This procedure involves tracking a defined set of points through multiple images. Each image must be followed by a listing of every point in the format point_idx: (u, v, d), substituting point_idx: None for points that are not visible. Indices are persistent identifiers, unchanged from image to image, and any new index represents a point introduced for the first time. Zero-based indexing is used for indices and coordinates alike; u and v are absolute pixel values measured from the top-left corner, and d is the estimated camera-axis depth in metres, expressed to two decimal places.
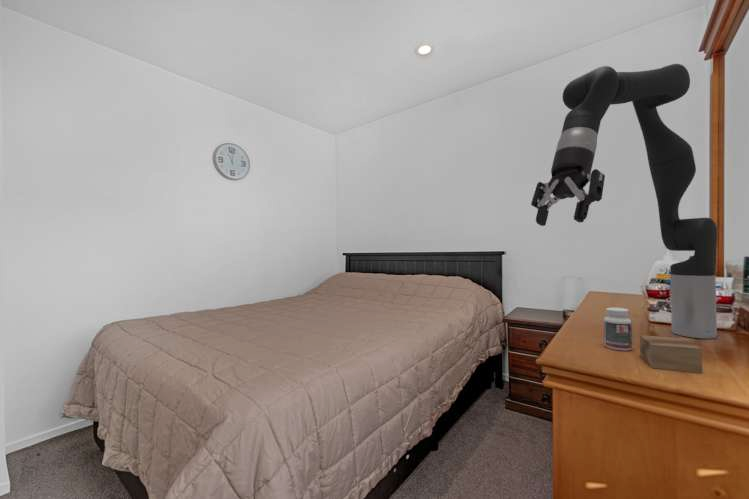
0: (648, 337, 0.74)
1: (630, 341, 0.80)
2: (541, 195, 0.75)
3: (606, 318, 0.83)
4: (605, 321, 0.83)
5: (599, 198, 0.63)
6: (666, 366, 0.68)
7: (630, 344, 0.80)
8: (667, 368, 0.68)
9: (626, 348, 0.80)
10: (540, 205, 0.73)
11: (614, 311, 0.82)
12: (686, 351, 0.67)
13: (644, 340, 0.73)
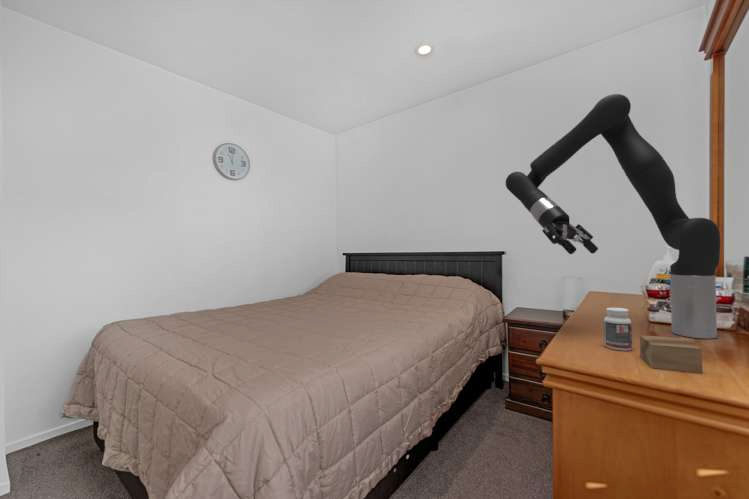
0: (648, 337, 0.74)
1: (630, 341, 0.80)
2: None
3: (606, 318, 0.83)
4: (605, 321, 0.83)
5: (556, 238, 0.91)
6: (666, 366, 0.68)
7: (630, 344, 0.80)
8: (667, 368, 0.68)
9: (626, 348, 0.80)
10: None
11: (614, 311, 0.82)
12: (686, 351, 0.67)
13: (644, 340, 0.73)
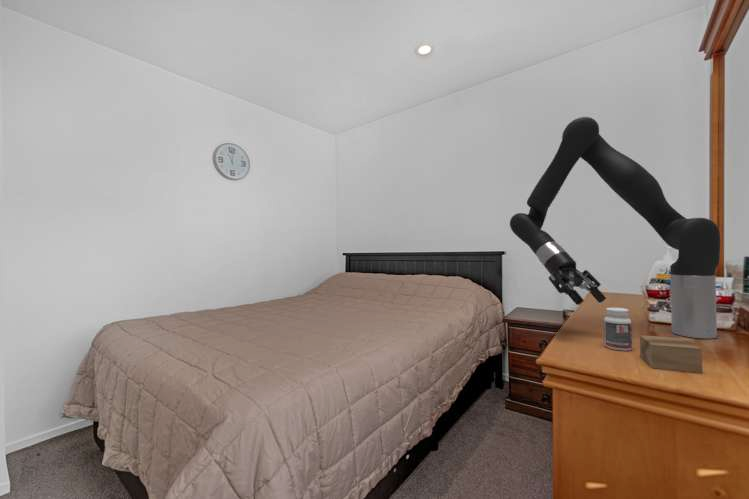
0: (648, 337, 0.74)
1: (630, 341, 0.80)
2: None
3: (606, 318, 0.83)
4: (605, 321, 0.83)
5: (563, 287, 0.90)
6: (666, 366, 0.68)
7: (630, 344, 0.80)
8: (667, 368, 0.68)
9: (626, 348, 0.80)
10: (590, 291, 0.94)
11: (614, 311, 0.82)
12: (686, 351, 0.67)
13: (644, 340, 0.73)
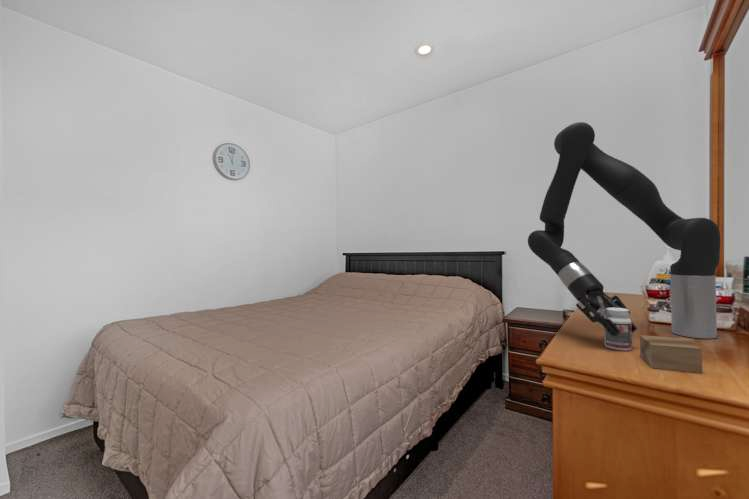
0: (648, 337, 0.74)
1: (630, 341, 0.80)
2: None
3: None
4: None
5: (597, 317, 0.82)
6: (666, 366, 0.68)
7: (630, 344, 0.80)
8: (667, 368, 0.68)
9: (626, 348, 0.80)
10: None
11: (614, 311, 0.81)
12: (686, 351, 0.67)
13: (644, 340, 0.73)
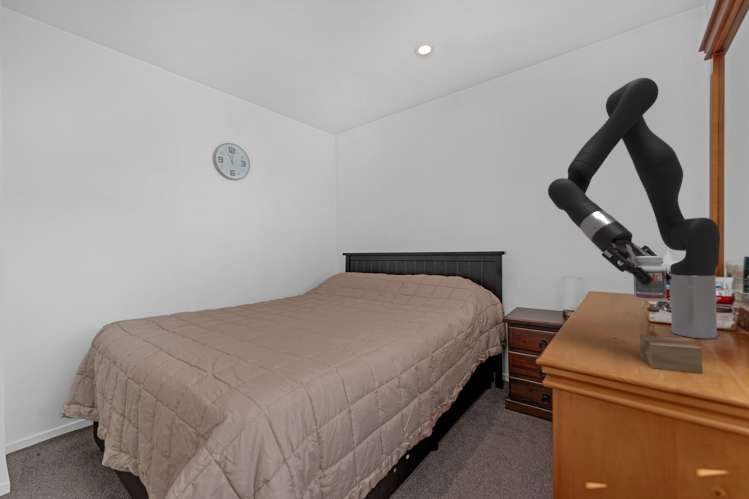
0: (648, 337, 0.74)
1: (664, 290, 0.72)
2: None
3: None
4: None
5: (626, 265, 0.73)
6: (666, 366, 0.68)
7: (664, 294, 0.72)
8: (667, 368, 0.68)
9: (660, 298, 0.72)
10: None
11: (646, 258, 0.73)
12: (686, 351, 0.67)
13: (644, 340, 0.73)
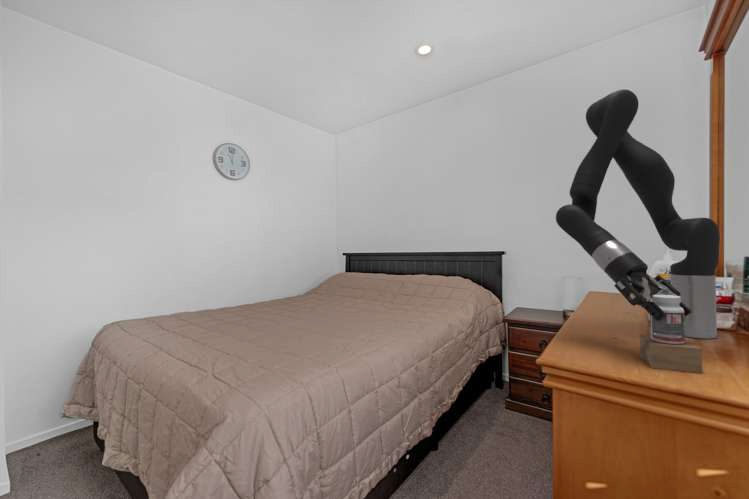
0: (648, 337, 0.74)
1: (683, 333, 0.68)
2: None
3: None
4: None
5: (638, 298, 0.70)
6: (666, 366, 0.68)
7: (683, 337, 0.68)
8: (667, 368, 0.68)
9: (679, 341, 0.68)
10: None
11: (664, 298, 0.70)
12: (686, 351, 0.67)
13: (644, 340, 0.73)
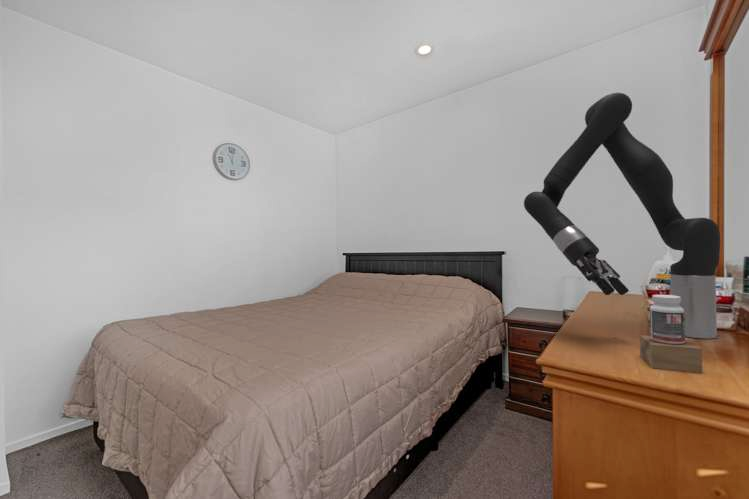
0: (648, 337, 0.74)
1: (683, 333, 0.68)
2: (606, 271, 0.89)
3: (653, 307, 0.71)
4: (652, 310, 0.71)
5: (594, 275, 0.80)
6: (666, 366, 0.68)
7: (683, 337, 0.68)
8: (667, 368, 0.68)
9: (679, 341, 0.68)
10: None
11: (664, 298, 0.70)
12: (686, 351, 0.67)
13: (644, 340, 0.73)
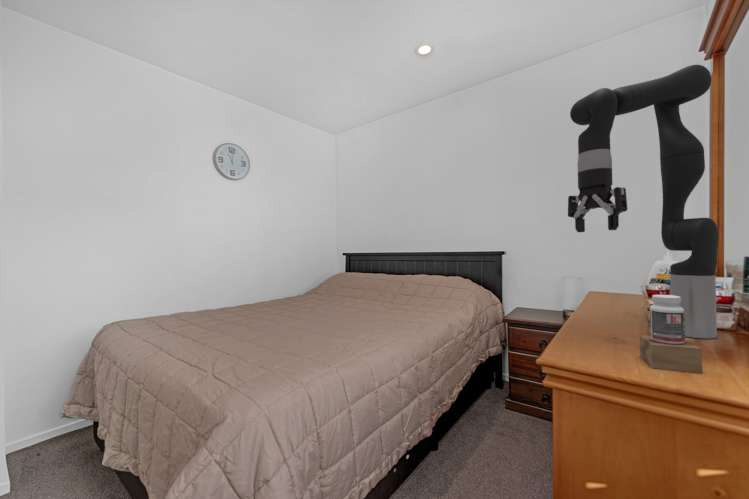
0: (648, 337, 0.74)
1: (683, 333, 0.68)
2: (574, 206, 0.91)
3: (653, 307, 0.71)
4: (652, 310, 0.71)
5: (625, 209, 0.79)
6: (666, 366, 0.68)
7: (683, 337, 0.68)
8: (667, 368, 0.68)
9: (679, 341, 0.68)
10: (576, 217, 0.89)
11: (663, 298, 0.70)
12: (686, 351, 0.67)
13: (644, 340, 0.73)
